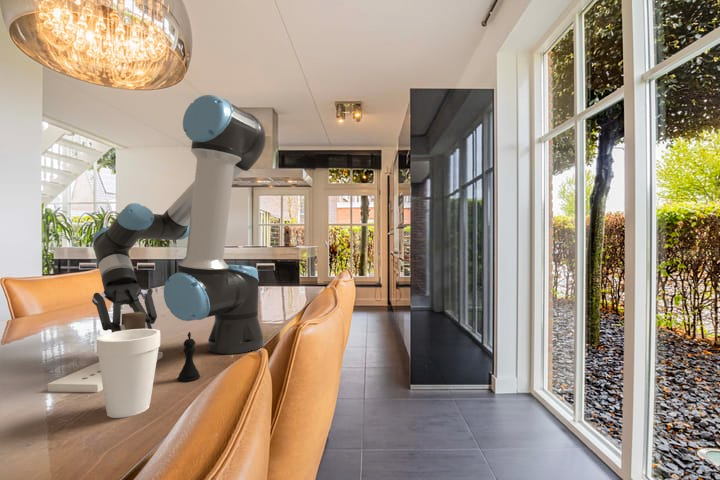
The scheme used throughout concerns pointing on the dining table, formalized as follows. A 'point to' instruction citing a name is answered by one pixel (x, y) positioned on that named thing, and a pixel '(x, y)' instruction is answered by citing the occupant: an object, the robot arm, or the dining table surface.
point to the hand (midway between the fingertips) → (138, 348)
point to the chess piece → (189, 363)
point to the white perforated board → (82, 380)
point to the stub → (133, 320)
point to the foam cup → (128, 369)
